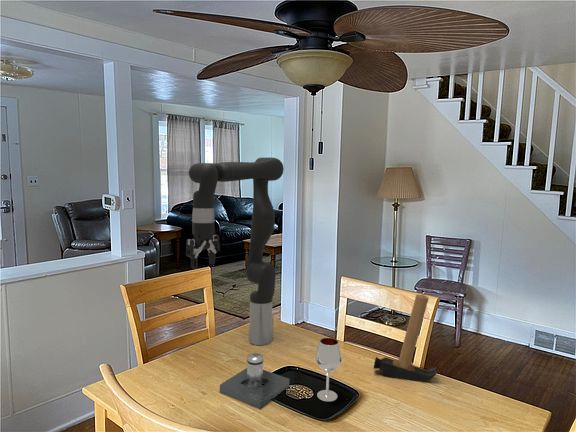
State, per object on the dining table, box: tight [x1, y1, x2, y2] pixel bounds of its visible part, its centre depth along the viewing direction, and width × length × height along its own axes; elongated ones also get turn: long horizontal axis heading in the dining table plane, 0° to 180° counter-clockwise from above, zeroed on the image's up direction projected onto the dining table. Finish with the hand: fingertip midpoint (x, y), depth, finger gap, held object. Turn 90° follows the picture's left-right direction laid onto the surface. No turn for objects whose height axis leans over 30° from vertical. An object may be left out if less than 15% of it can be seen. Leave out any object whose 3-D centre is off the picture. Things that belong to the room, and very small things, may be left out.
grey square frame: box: [219, 367, 290, 410], centre depth 134 cm, size 16×16×2 cm
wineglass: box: [315, 337, 343, 402], centre depth 130 cm, size 8×8×18 cm
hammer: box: [373, 294, 437, 383], centre depth 143 cm, size 20×5×30 cm, turn 76°
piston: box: [246, 352, 264, 390], centre depth 133 cm, size 5×5×11 cm
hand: (203, 266), depth 146 cm, fingers open, 8 cm apart
